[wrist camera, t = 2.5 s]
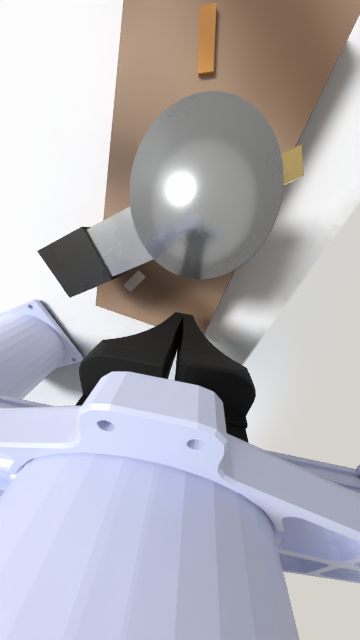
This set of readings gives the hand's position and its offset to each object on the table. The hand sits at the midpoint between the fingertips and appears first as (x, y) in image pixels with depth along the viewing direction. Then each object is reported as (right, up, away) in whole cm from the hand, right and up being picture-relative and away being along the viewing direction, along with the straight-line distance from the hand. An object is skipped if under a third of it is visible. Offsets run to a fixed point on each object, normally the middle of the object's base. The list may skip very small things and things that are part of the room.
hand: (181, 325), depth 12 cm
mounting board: (0, +8, 0) cm, 8 cm away
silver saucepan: (-1, +6, -2) cm, 6 cm away
